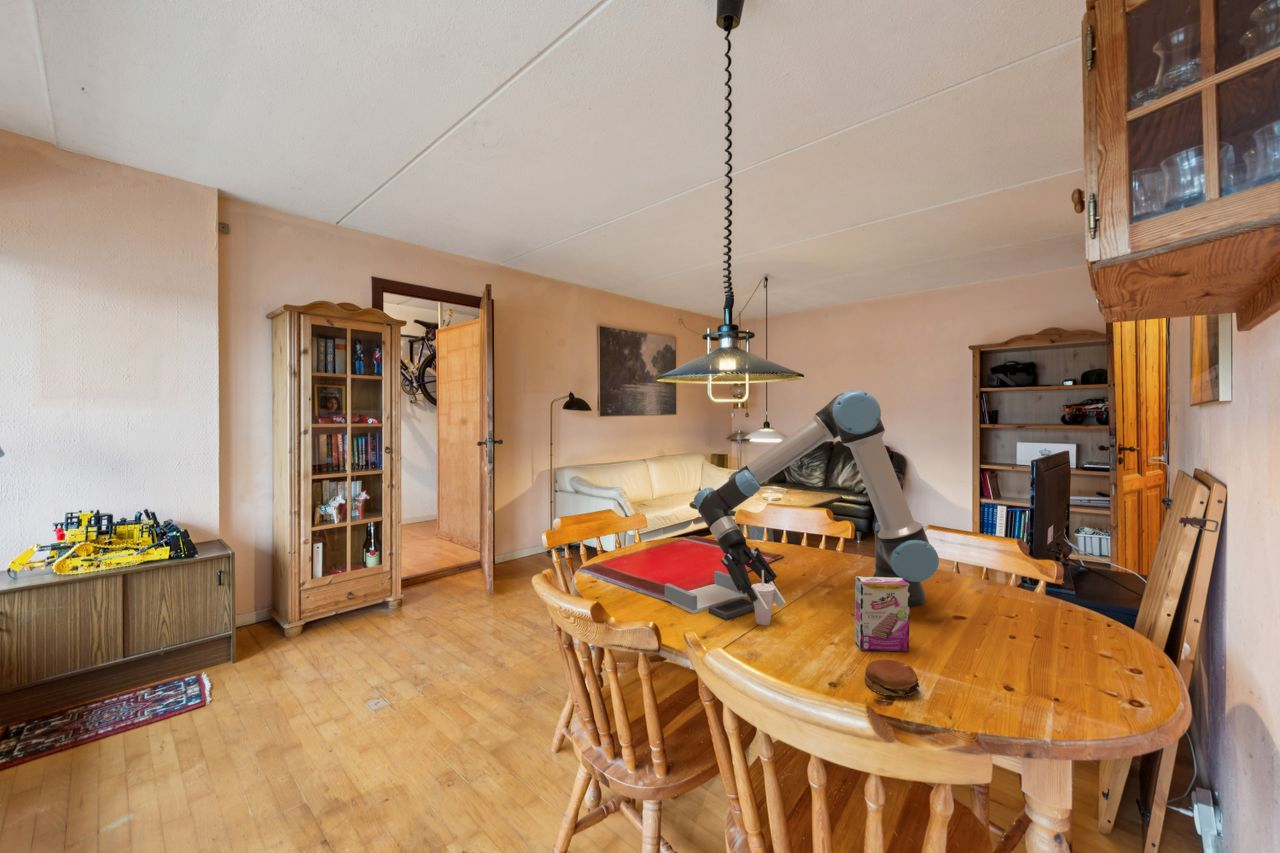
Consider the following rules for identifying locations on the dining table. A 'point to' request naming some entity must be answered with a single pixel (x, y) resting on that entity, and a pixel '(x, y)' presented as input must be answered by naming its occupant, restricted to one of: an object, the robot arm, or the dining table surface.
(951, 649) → the dining table surface
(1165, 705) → the dining table surface
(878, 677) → the burger
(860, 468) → the robot arm
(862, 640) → the candy bar box
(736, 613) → the tray
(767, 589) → the smoothie
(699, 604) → the walled channel
